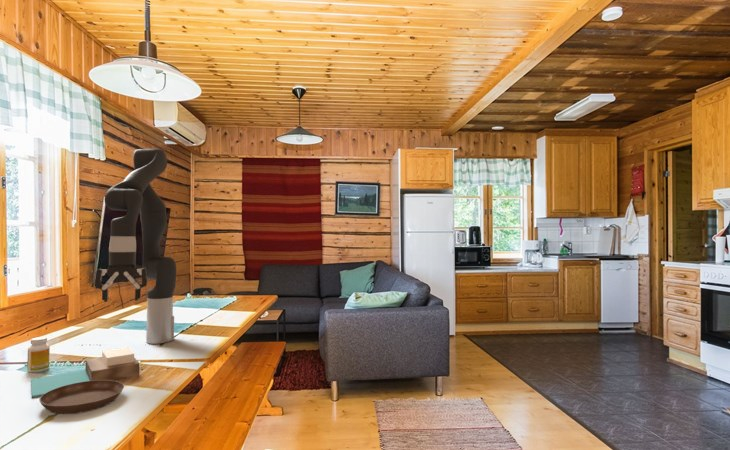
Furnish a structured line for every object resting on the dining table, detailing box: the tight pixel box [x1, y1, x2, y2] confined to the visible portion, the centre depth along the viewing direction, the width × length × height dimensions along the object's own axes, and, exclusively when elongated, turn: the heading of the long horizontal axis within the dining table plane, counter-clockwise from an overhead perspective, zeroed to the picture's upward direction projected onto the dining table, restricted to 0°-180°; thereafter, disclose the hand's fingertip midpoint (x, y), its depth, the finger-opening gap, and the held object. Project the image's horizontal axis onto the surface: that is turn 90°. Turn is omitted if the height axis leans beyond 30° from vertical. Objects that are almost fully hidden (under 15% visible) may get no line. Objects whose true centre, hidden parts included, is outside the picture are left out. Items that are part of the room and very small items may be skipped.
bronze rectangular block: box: [84, 356, 140, 382], centre depth 126 cm, size 12×14×4 cm
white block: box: [101, 347, 135, 366], centre depth 127 cm, size 7×9×2 cm
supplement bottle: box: [26, 336, 51, 373], centre depth 130 cm, size 5×5×10 cm
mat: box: [30, 369, 90, 399], centre depth 118 cm, size 13×16×1 cm
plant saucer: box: [39, 380, 125, 415], centre depth 106 cm, size 18×18×3 cm
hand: (121, 301), depth 134 cm, fingers open, 8 cm apart
